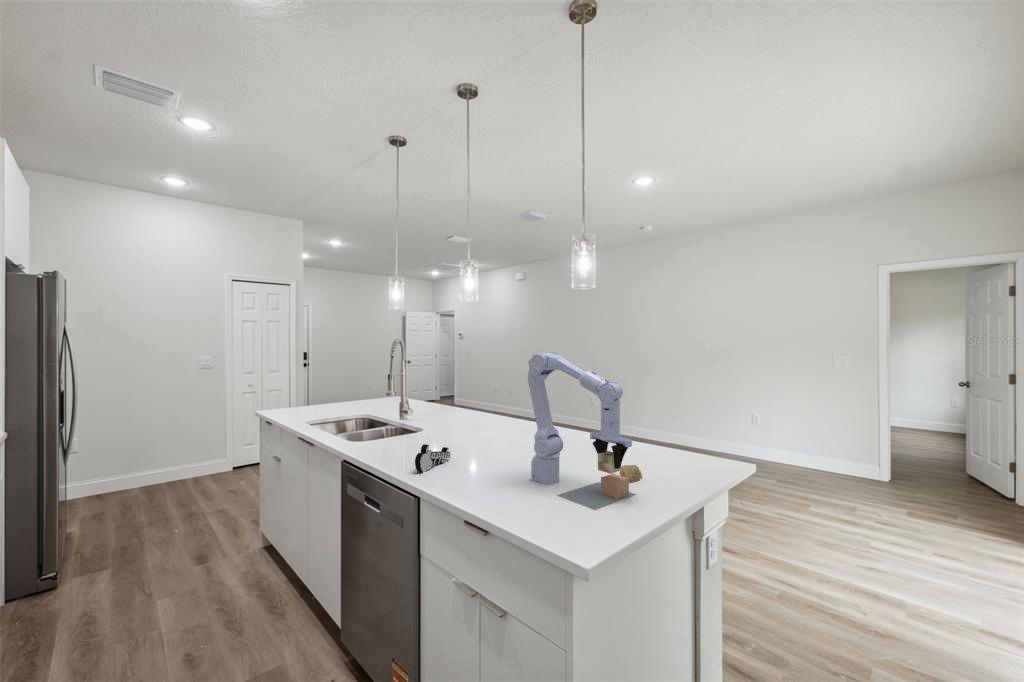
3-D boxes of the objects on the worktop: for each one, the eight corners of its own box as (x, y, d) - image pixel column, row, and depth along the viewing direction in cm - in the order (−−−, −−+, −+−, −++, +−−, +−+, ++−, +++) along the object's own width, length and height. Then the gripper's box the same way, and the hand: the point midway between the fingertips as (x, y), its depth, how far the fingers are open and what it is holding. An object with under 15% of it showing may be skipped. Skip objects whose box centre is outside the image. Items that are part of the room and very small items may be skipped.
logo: (418, 473, 154) (422, 444, 156) (413, 472, 155) (417, 444, 157) (449, 470, 173) (451, 444, 175) (444, 469, 174) (447, 444, 176)
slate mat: (556, 497, 132) (556, 495, 132) (598, 484, 145) (598, 482, 145) (594, 512, 121) (594, 510, 121) (636, 497, 134) (636, 494, 134)
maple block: (597, 470, 134) (597, 453, 134) (608, 466, 137) (607, 450, 137) (610, 473, 130) (610, 457, 130) (621, 470, 133) (621, 454, 133)
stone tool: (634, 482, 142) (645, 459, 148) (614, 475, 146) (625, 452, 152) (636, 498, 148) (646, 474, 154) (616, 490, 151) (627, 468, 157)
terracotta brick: (600, 493, 134) (600, 477, 134) (612, 489, 138) (612, 473, 138) (616, 498, 130) (616, 482, 130) (628, 494, 134) (628, 478, 134)
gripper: (583, 420, 137) (583, 463, 137) (621, 427, 126) (621, 474, 125) (598, 417, 141) (598, 459, 141) (636, 424, 130) (636, 469, 130)
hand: (610, 466), depth 134 cm, fingers closed on maple block, 5 cm apart
